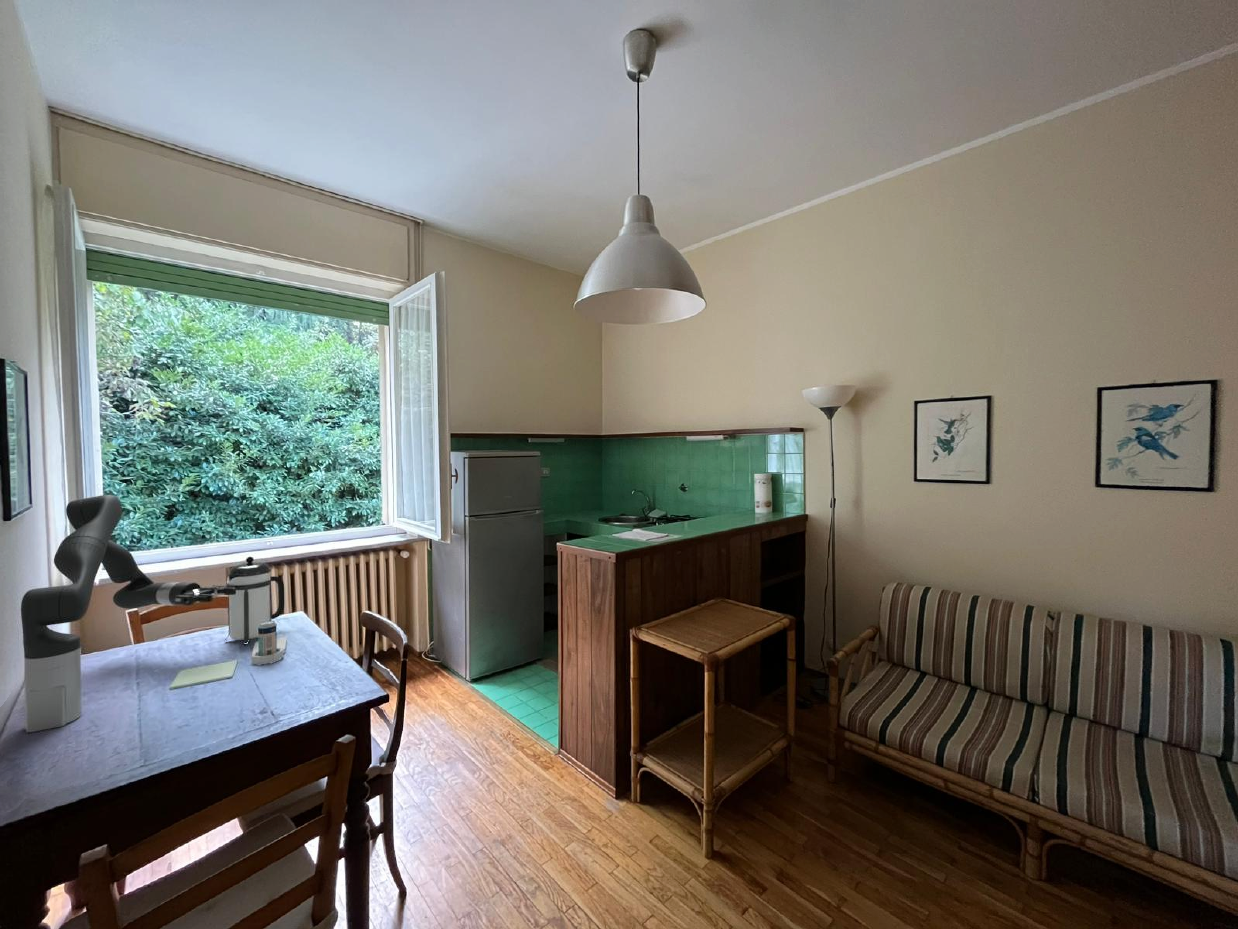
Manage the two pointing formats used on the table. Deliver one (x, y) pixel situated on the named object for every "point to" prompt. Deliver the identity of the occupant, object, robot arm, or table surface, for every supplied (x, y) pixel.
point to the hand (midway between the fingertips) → (223, 594)
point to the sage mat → (204, 674)
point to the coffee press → (251, 599)
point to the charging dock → (269, 658)
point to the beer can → (267, 638)
